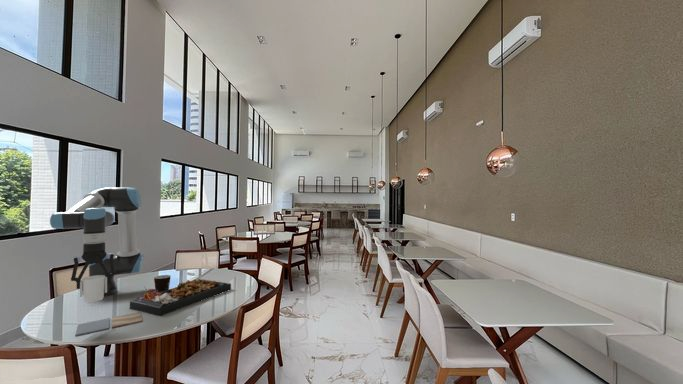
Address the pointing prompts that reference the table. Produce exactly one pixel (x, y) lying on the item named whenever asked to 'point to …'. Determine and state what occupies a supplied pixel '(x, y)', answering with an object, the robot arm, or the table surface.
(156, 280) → the coffee mug
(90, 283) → the white cup
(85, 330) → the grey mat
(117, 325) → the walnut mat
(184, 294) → the food platter
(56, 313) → the table surface
